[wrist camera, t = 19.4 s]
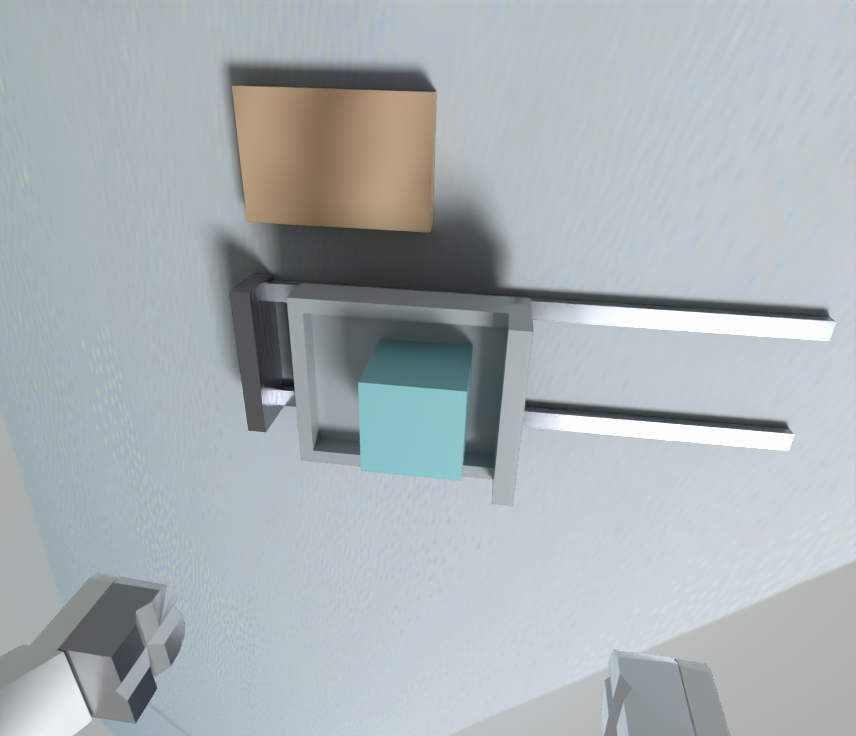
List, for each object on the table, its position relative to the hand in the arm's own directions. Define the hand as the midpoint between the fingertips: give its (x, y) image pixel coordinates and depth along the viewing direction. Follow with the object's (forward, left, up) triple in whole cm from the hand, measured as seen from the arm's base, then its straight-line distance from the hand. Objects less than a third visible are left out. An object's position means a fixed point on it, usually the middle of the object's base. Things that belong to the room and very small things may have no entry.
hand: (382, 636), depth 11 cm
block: (+1, +4, -18) cm, 19 cm away
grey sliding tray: (+2, +4, -21) cm, 22 cm away
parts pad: (+6, -6, -21) cm, 23 cm away
